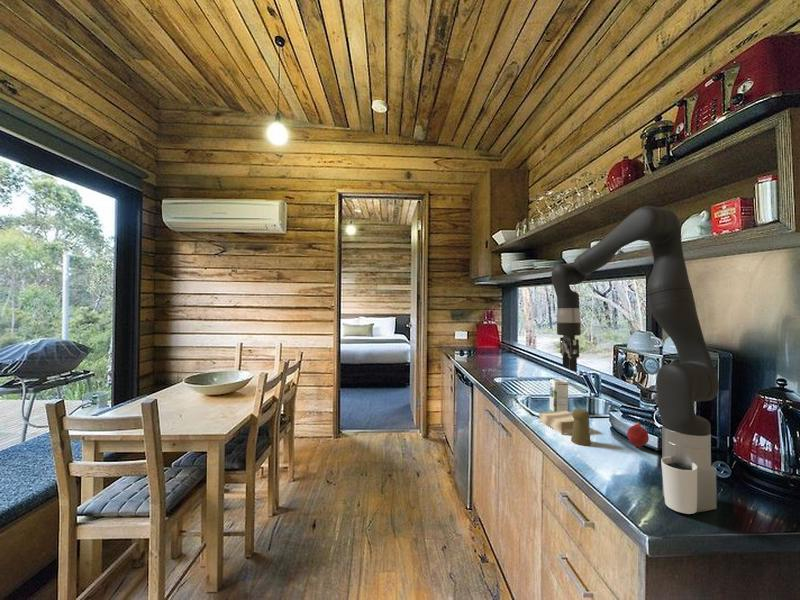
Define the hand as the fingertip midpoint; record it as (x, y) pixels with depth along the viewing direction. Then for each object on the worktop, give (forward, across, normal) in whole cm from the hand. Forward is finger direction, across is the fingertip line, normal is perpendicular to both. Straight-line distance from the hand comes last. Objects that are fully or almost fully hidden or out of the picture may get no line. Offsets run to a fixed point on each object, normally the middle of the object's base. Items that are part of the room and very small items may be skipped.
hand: (569, 368), depth 122 cm
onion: (+25, -2, -20) cm, 32 cm away
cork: (+25, -2, -2) cm, 25 cm away
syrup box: (+24, +29, -3) cm, 38 cm away
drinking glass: (+26, -37, -14) cm, 48 cm away
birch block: (+24, +12, 0) cm, 27 cm away
